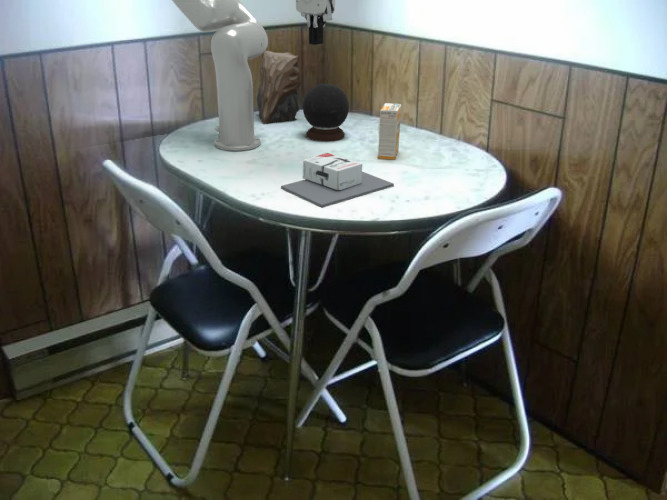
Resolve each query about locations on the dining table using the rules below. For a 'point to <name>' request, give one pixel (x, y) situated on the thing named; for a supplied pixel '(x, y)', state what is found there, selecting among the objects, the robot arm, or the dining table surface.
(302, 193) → the mat
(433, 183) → the dining table surface
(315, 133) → the ball on wooden base
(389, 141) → the supplement box
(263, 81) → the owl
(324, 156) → the ink box
